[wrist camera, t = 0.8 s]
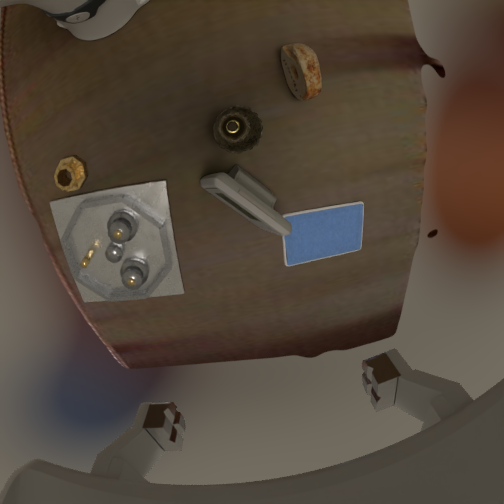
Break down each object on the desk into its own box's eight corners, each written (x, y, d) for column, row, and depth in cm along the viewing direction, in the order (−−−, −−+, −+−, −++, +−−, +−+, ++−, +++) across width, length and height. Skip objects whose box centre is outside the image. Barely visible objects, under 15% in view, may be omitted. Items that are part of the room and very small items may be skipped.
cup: (217, 151, 46) (220, 159, 40) (206, 113, 43) (207, 113, 36) (257, 140, 47) (268, 146, 40) (247, 102, 43) (256, 100, 36)
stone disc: (308, 98, 44) (332, 97, 35) (289, 101, 44) (310, 101, 35) (294, 47, 39) (315, 36, 30) (274, 50, 39) (292, 38, 30)
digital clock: (195, 178, 48) (194, 195, 39) (233, 145, 47) (241, 155, 37) (249, 236, 56) (260, 263, 47) (284, 208, 54) (302, 231, 45)
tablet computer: (283, 265, 62) (285, 268, 61) (279, 213, 55) (280, 215, 54) (359, 247, 64) (361, 250, 62) (361, 199, 57) (364, 201, 56)
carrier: (52, 200, 44) (39, 210, 39) (166, 179, 47) (162, 187, 42) (85, 299, 56) (79, 314, 51) (184, 290, 60) (184, 306, 55)
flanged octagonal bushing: (57, 160, 40) (47, 164, 37) (84, 152, 41) (75, 156, 38) (63, 191, 43) (54, 197, 40) (89, 185, 44) (82, 191, 41)
